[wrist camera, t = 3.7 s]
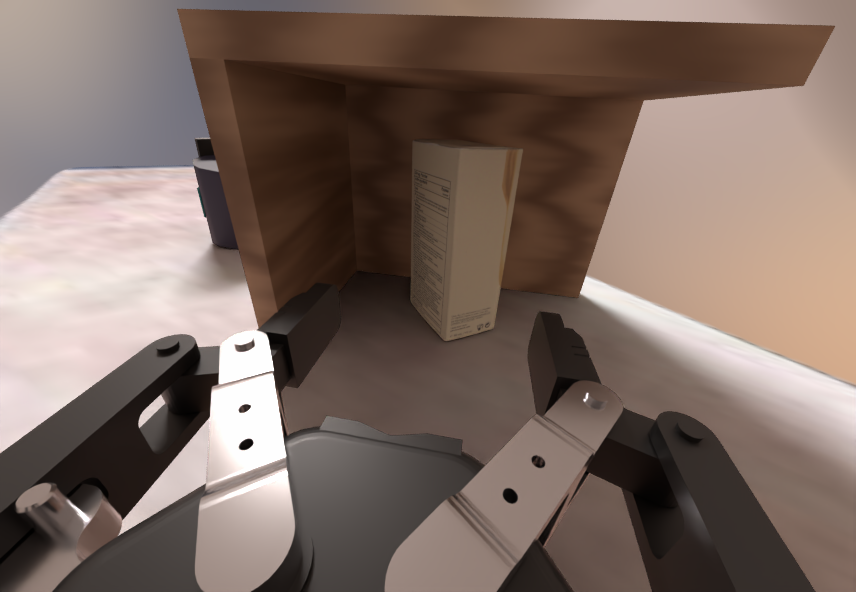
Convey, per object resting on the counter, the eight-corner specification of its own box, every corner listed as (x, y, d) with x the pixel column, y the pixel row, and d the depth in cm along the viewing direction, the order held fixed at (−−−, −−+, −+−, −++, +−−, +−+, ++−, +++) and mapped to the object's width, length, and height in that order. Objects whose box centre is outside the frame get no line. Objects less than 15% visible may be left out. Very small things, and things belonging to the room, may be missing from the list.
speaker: (209, 229, 38) (185, 132, 32) (263, 225, 41) (250, 136, 35) (212, 258, 33) (185, 149, 27) (273, 252, 36) (261, 152, 30)
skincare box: (495, 331, 24) (531, 148, 17) (443, 345, 22) (463, 147, 16) (452, 291, 28) (468, 137, 22) (407, 299, 27) (410, 136, 21)
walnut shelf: (574, 289, 30) (642, 75, 22) (631, 408, 18) (835, 25, 10) (347, 262, 32) (332, 61, 24) (264, 349, 20) (177, 8, 12)
